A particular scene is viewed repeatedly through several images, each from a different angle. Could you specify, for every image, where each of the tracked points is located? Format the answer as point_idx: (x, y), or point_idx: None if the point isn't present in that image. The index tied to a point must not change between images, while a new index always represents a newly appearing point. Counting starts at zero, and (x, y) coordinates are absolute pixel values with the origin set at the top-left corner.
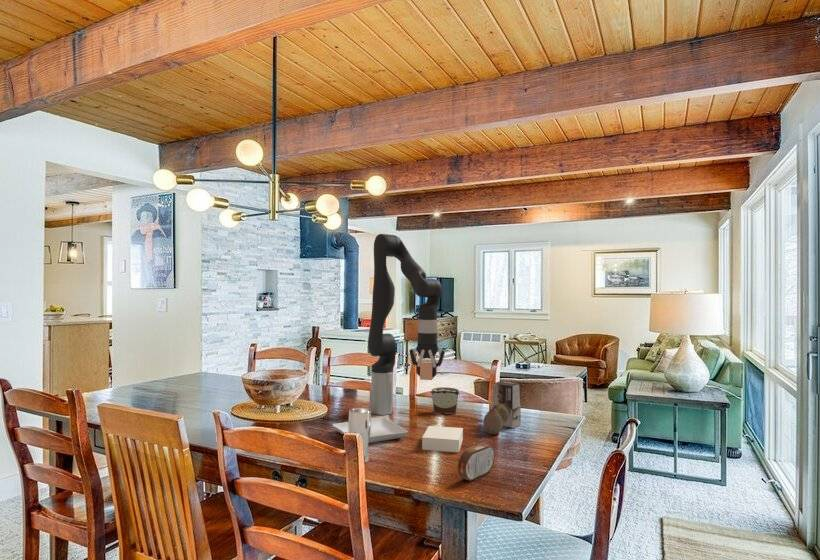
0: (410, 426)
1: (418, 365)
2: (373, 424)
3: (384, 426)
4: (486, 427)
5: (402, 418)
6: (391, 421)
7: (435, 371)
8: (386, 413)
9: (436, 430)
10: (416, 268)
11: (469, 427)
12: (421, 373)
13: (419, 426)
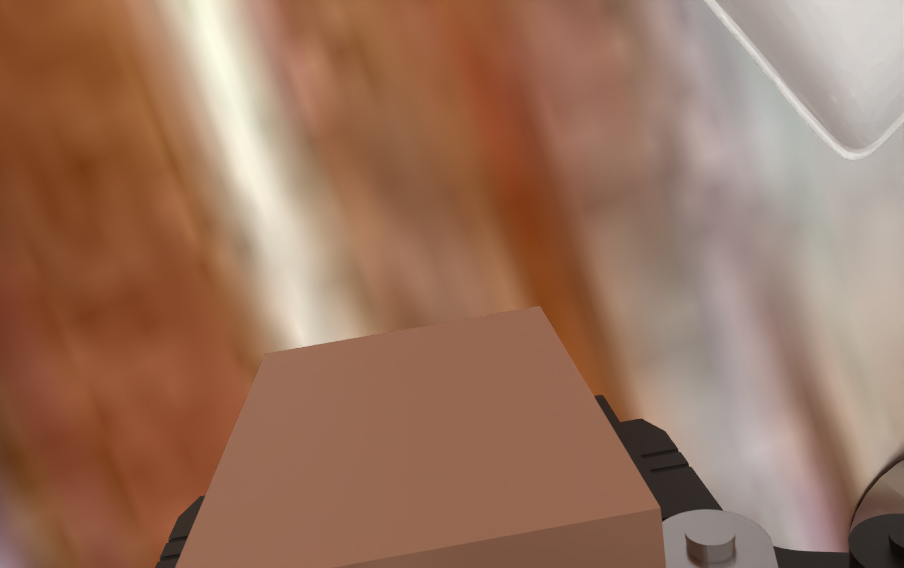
0: (559, 211)
1: (714, 521)
2: (902, 20)
3: (778, 5)
4: None
5: (709, 428)
6: (732, 25)
7: (171, 566)
8: (887, 480)
9: None
10: None
11: (35, 402)
12: (530, 364)
13: (480, 245)
